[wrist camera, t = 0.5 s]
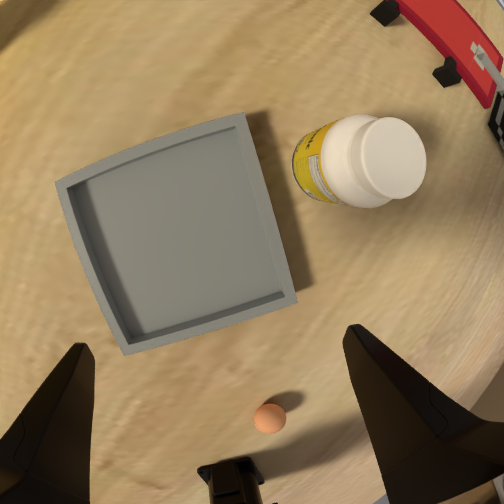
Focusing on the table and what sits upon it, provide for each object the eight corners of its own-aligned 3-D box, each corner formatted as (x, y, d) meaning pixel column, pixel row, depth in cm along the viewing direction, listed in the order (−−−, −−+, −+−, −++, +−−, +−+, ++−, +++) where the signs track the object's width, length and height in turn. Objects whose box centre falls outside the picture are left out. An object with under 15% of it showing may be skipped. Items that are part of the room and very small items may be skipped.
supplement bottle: (339, 122, 21) (417, 94, 12) (362, 186, 23) (447, 194, 13) (277, 144, 21) (331, 117, 11) (304, 211, 22) (371, 233, 13)
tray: (291, 294, 24) (298, 302, 22) (128, 344, 22) (124, 355, 21) (240, 117, 20) (244, 111, 18) (65, 181, 19) (54, 182, 17)
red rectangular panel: (502, 176, 25) (522, 102, 24) (519, 176, 22) (536, 100, 21) (314, -21, 18) (371, -61, 17) (324, -37, 15) (381, -73, 14)
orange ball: (285, 413, 27) (292, 433, 24) (256, 422, 26) (261, 443, 23) (278, 393, 26) (285, 414, 23) (247, 403, 26) (252, 424, 23)
